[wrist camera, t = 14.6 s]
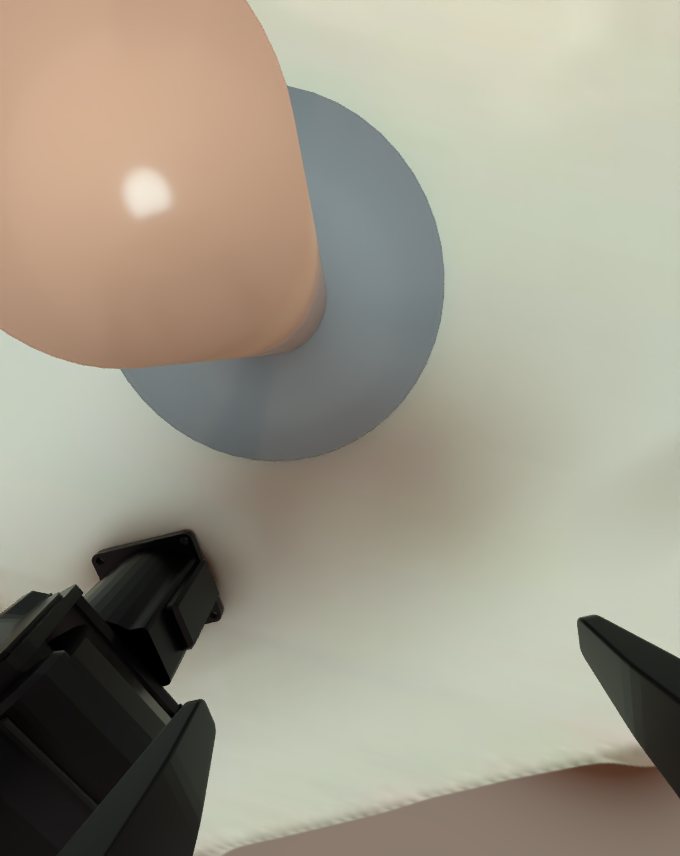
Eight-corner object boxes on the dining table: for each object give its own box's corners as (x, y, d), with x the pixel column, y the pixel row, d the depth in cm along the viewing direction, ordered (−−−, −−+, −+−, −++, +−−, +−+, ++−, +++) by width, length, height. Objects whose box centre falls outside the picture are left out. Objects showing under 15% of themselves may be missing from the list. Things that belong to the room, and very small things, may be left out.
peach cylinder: (209, 349, 18) (-85, 350, 6) (210, 224, 17) (-170, -145, 4) (321, 360, 18) (286, 385, 6) (331, 237, 17) (313, -82, 4)
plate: (173, 488, 21) (167, 493, 20) (42, 156, 17) (28, 147, 16) (466, 414, 20) (471, 417, 19) (400, 46, 16) (403, 30, 15)
